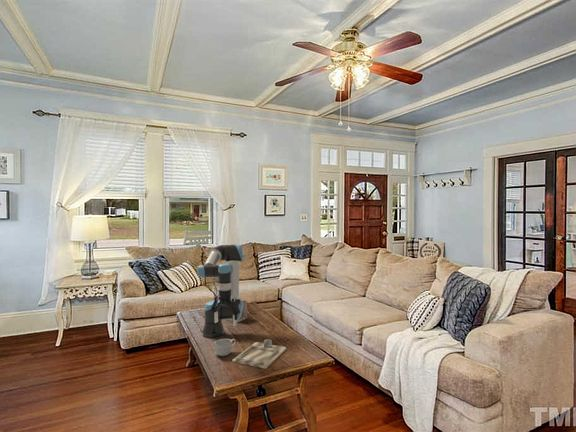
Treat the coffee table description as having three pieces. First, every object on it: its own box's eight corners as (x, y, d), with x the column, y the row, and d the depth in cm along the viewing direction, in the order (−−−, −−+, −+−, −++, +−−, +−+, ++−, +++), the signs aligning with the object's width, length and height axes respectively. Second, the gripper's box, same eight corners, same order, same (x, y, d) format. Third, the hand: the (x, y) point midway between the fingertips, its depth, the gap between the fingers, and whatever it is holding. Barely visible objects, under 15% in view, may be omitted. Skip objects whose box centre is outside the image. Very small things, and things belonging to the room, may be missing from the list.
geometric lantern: (211, 313, 285) (211, 272, 285) (229, 311, 291) (229, 271, 291) (214, 318, 271) (214, 275, 271) (233, 316, 277) (233, 274, 277)
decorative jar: (247, 318, 269) (247, 296, 269) (238, 322, 259) (237, 300, 259) (236, 316, 276) (236, 294, 275) (226, 320, 266) (226, 298, 265)
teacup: (217, 359, 196) (216, 346, 196) (212, 352, 206) (212, 339, 206) (239, 354, 203) (239, 341, 202) (233, 348, 212) (233, 335, 212)
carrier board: (232, 361, 193) (232, 353, 193) (255, 343, 218) (255, 335, 218) (265, 368, 184) (265, 359, 184) (286, 349, 210) (286, 340, 209)
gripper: (204, 289, 205) (205, 323, 205) (239, 292, 195) (239, 328, 195) (212, 286, 212) (212, 319, 212) (245, 289, 202) (246, 324, 202)
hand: (225, 323), depth 204 cm, fingers open, 13 cm apart
